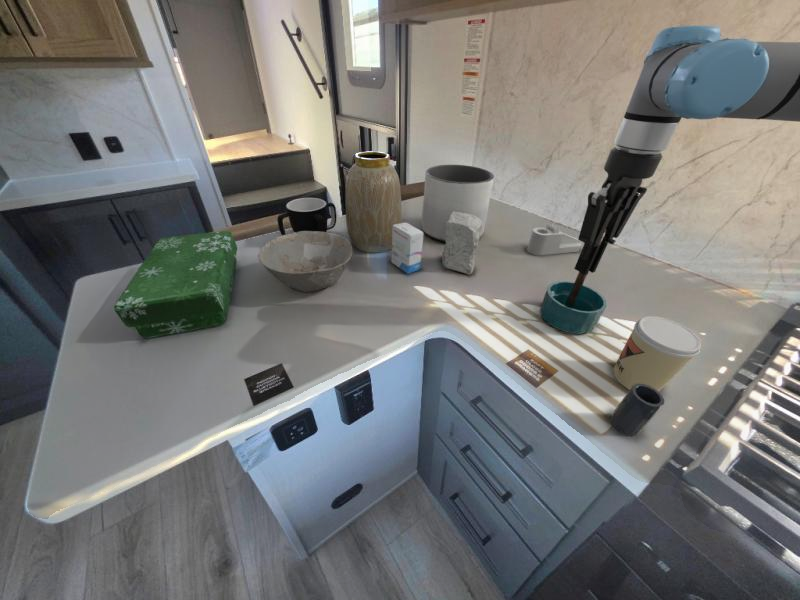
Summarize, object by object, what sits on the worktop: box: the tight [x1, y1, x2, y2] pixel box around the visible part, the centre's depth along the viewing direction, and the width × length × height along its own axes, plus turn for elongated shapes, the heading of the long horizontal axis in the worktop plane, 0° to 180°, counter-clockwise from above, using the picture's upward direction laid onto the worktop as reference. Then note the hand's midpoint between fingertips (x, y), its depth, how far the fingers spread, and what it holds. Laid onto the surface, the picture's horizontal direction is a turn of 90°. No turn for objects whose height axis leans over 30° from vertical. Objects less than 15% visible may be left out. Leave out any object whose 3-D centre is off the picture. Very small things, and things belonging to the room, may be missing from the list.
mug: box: [277, 197, 337, 236], centre depth 101 cm, size 16×16×12 cm
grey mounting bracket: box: [526, 223, 583, 256], centre depth 101 cm, size 6×18×8 cm, turn 103°
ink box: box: [391, 222, 424, 275], centre depth 89 cm, size 9×5×12 cm, turn 36°
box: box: [113, 230, 238, 339], centre depth 76 cm, size 32×18×10 cm, turn 17°
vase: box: [344, 151, 402, 254], centre depth 96 cm, size 17×17×27 cm
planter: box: [421, 164, 495, 243], centre depth 107 cm, size 22×22×20 cm
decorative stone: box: [441, 211, 483, 276], centre depth 89 cm, size 10×9×15 cm
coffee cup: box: [613, 315, 702, 393], centre depth 57 cm, size 9×9×12 cm
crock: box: [609, 384, 665, 437], centre depth 50 cm, size 4×4×8 cm
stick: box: [566, 229, 606, 308], centre depth 67 cm, size 2×2×20 cm
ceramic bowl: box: [257, 231, 353, 293], centre depth 81 cm, size 22×23×10 cm
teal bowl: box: [539, 280, 607, 335], centre depth 73 cm, size 12×12×6 cm
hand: (584, 270), depth 67 cm, fingers closed on stick, 1 cm apart
